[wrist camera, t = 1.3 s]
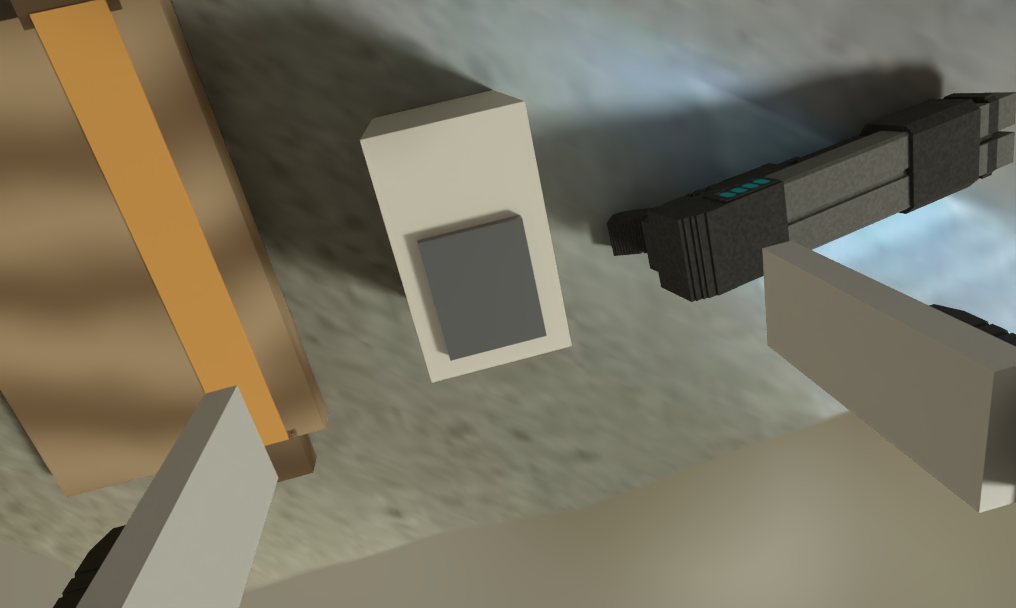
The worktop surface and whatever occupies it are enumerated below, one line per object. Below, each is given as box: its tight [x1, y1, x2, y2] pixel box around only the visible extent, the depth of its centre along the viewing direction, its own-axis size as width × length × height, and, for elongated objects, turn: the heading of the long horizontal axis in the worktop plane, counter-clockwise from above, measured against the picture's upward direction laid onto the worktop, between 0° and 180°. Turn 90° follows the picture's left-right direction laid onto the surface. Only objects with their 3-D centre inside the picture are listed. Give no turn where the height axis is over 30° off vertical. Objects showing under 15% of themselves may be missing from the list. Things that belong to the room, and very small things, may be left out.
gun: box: [607, 92, 1016, 302], centre depth 33 cm, size 4×20×10 cm, turn 106°
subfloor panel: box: [0, 0, 328, 497], centre depth 30 cm, size 27×14×2 cm, turn 12°
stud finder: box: [360, 90, 572, 382], centre depth 28 cm, size 10×6×10 cm, turn 12°
